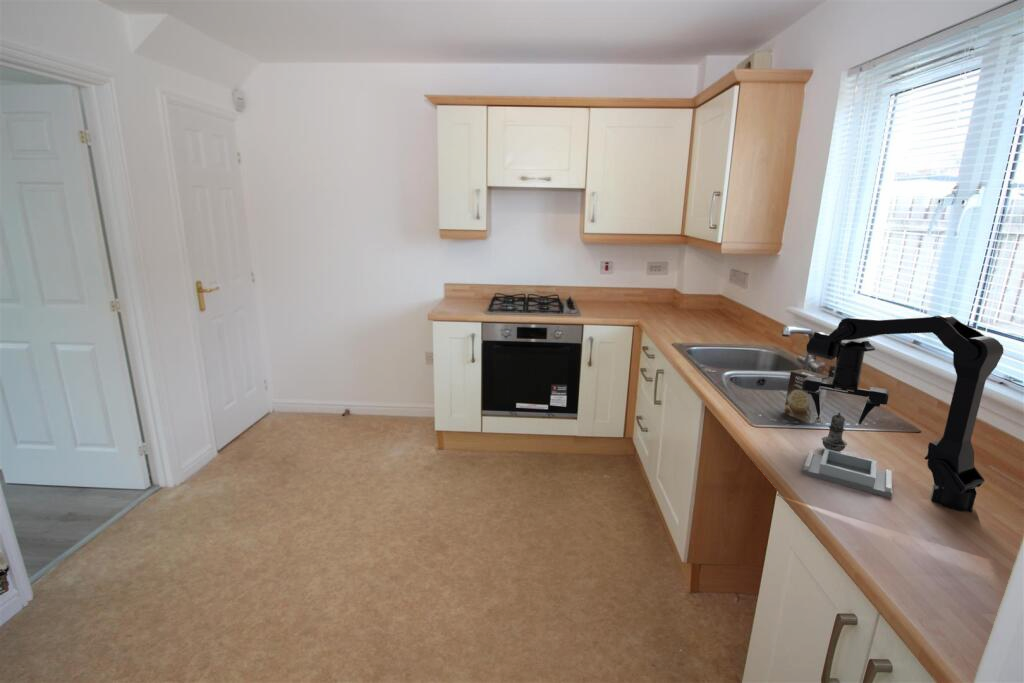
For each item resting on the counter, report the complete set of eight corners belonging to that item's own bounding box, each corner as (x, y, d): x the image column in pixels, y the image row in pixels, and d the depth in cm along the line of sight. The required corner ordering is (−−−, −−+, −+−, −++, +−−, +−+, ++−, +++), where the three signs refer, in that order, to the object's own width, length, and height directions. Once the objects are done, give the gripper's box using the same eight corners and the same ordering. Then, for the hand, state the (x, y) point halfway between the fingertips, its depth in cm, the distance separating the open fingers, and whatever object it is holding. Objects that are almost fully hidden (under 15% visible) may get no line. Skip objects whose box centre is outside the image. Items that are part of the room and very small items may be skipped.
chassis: (891, 478, 121) (894, 464, 120) (891, 498, 112) (894, 483, 111) (807, 456, 132) (810, 444, 131) (801, 473, 122) (803, 460, 121)
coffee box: (781, 417, 159) (789, 370, 155) (794, 415, 162) (801, 368, 158) (809, 428, 151) (817, 378, 147) (821, 425, 154) (830, 376, 150)
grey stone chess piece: (821, 446, 138) (828, 406, 135) (846, 452, 134) (853, 412, 132) (817, 453, 134) (825, 412, 131) (843, 460, 130) (851, 418, 127)
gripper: (893, 364, 129) (881, 419, 133) (811, 352, 140) (803, 404, 143) (893, 373, 120) (881, 432, 124) (806, 360, 131) (797, 414, 135)
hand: (838, 419), depth 132 cm, fingers open, 9 cm apart
